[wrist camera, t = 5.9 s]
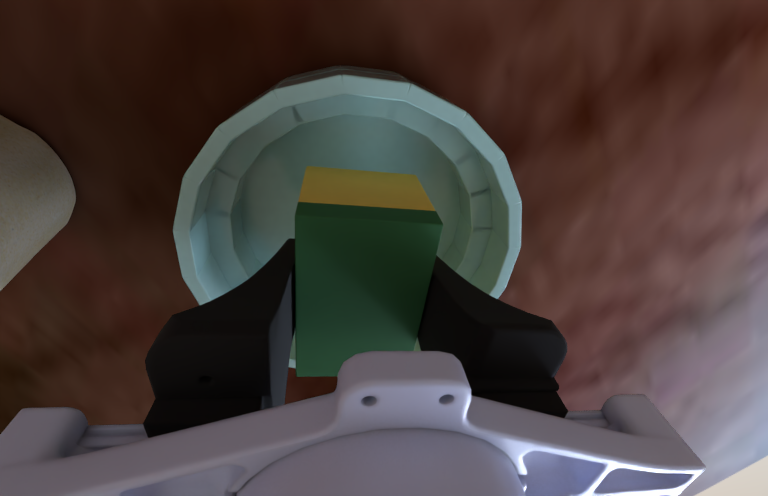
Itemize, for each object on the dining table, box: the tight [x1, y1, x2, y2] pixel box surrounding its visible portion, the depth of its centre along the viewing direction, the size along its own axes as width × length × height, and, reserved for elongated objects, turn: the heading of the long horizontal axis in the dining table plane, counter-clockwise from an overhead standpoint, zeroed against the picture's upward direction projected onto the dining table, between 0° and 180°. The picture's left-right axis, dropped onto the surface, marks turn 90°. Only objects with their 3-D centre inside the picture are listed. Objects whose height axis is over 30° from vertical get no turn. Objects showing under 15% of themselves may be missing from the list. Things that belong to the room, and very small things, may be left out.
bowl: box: [173, 65, 522, 368], centre depth 17 cm, size 14×14×4 cm
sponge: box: [295, 166, 443, 377], centre depth 14 cm, size 7×4×4 cm, turn 173°
